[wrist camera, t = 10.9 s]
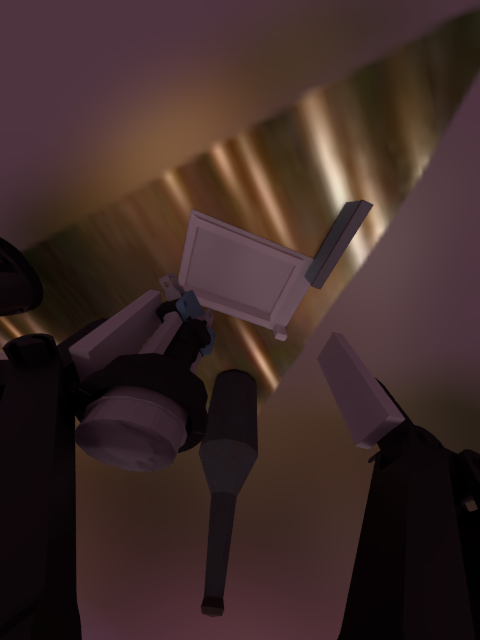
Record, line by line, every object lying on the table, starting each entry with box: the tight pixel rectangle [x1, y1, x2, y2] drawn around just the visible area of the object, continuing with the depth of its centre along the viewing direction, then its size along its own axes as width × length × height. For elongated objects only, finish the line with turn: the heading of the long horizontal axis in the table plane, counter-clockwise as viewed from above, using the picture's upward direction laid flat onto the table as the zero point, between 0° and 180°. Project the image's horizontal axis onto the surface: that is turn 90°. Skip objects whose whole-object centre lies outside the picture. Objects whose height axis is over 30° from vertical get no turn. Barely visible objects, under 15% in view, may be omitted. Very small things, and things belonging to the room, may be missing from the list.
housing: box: [178, 209, 314, 341], centre depth 30 cm, size 22×14×3 cm
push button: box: [71, 272, 215, 472], centre depth 11 cm, size 7×5×10 cm
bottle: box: [199, 370, 258, 617], centre depth 32 cm, size 10×10×30 cm
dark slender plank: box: [305, 200, 373, 289], centre depth 25 cm, size 1×11×4 cm, turn 160°
